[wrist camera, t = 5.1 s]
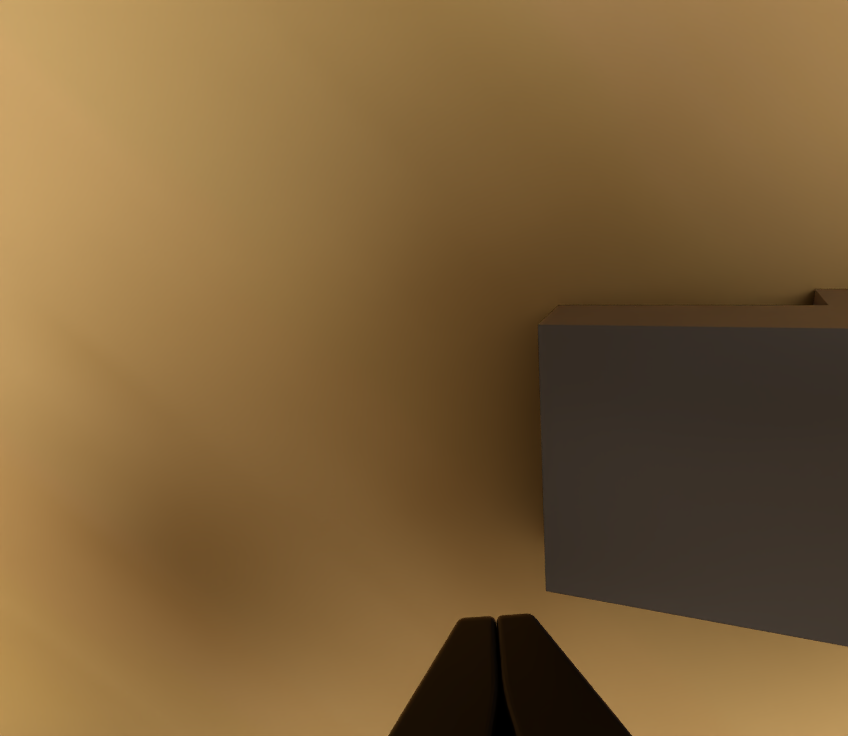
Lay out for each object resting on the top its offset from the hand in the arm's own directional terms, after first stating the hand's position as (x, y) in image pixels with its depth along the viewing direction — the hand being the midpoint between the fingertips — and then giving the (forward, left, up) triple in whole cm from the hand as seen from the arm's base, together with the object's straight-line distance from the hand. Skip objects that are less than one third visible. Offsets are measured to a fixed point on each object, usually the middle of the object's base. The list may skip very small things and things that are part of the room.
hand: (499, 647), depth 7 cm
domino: (0, -1, -5) cm, 5 cm away
